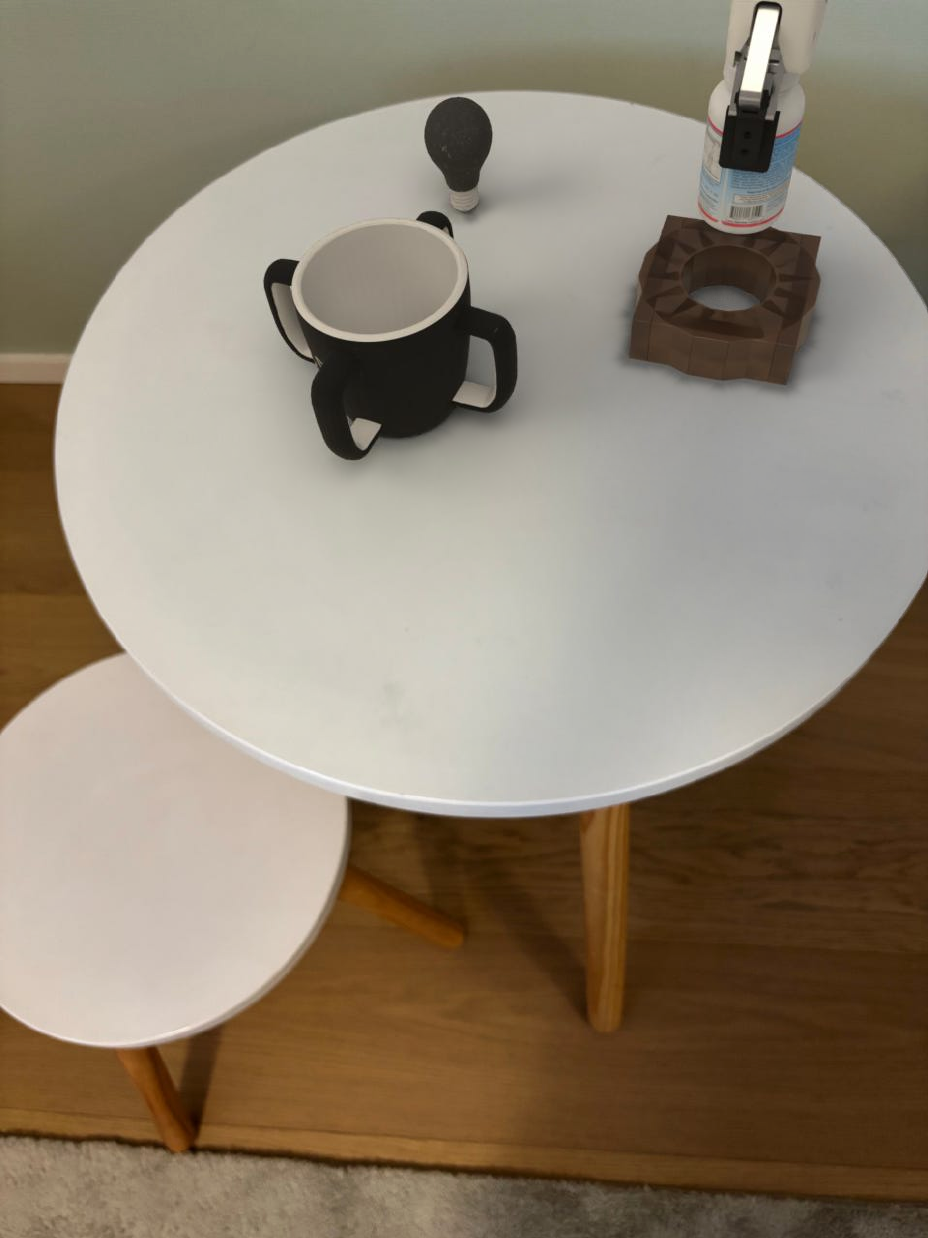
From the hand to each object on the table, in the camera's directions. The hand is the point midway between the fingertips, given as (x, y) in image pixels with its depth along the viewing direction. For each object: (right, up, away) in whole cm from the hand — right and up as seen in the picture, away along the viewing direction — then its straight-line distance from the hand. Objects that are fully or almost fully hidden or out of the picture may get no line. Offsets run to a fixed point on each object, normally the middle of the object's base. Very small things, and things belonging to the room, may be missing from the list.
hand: (753, 132), depth 68 cm
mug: (-24, -15, +13) cm, 31 cm away
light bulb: (-19, +4, +23) cm, 30 cm away
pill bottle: (0, -3, +5) cm, 6 cm away
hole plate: (+1, -8, +14) cm, 16 cm away
